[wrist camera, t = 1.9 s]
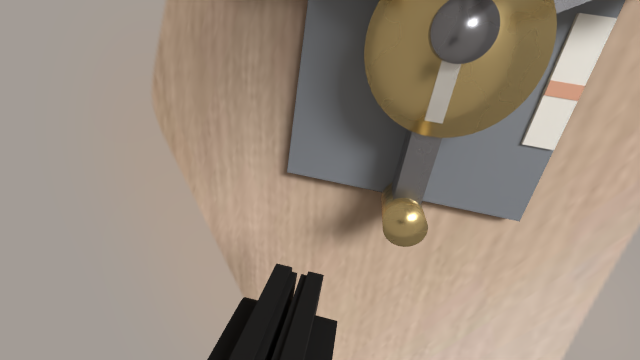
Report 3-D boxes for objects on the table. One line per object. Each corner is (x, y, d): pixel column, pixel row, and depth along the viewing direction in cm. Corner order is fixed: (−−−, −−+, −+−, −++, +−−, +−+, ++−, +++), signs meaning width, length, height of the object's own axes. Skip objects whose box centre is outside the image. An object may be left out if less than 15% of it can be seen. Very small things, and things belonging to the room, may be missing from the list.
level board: (338, -212, 15) (335, -235, 14) (697, -183, 13) (727, -206, 12) (290, 167, 22) (286, 173, 21) (513, 214, 21) (521, 223, 20)
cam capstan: (286, -130, 15) (256, -194, 11) (717, -82, 13) (854, -140, 9) (259, 183, 22) (235, 208, 18) (543, 245, 20) (582, 287, 16)
